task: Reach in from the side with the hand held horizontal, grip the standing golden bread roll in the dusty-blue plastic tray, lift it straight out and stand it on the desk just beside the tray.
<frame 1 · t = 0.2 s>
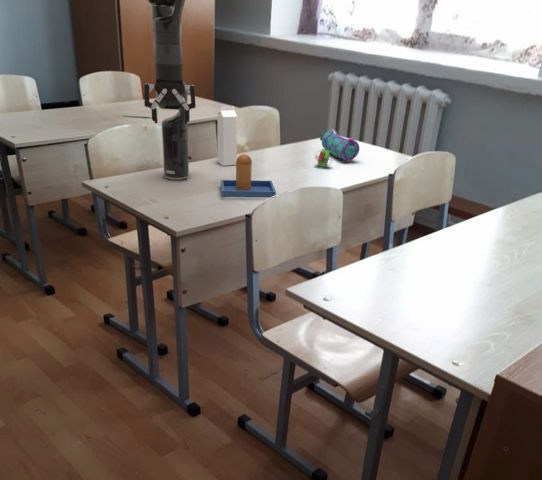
hand: (171, 123, 171), 29 cm above the table, tool pointing down, fingers open, 8 cm apart
bread: (243, 190, 212), point 1 cm above the table, touching tray
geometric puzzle: (322, 166, 247), on the table
tray: (247, 193, 213), on the table
pencil case: (338, 156, 262), on the table
milk: (226, 163, 243), on the table
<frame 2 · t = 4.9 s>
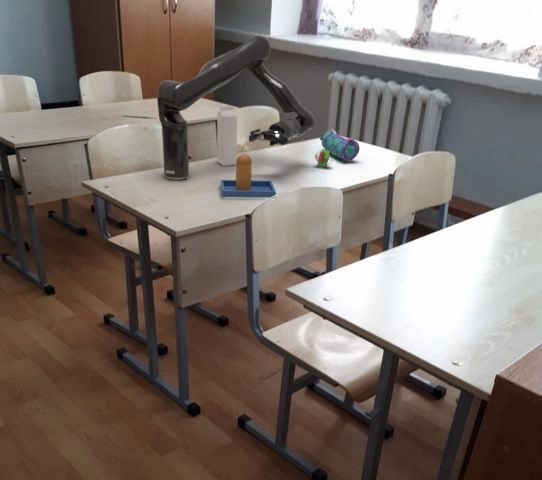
hand: (260, 140, 212), 16 cm above the table, tool horizontal, fingers open, 8 cm apart
nothing on the table moved.
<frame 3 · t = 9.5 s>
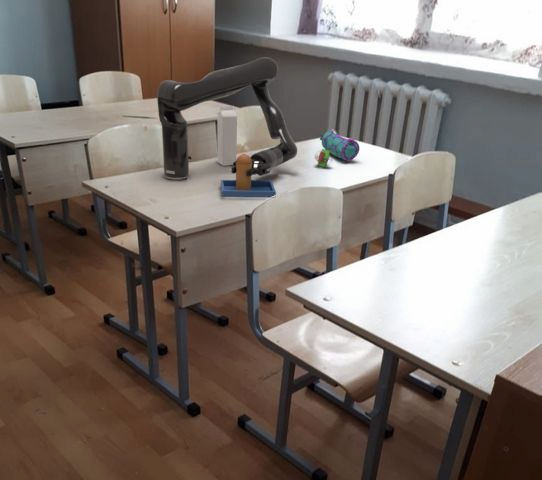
hand: (240, 172, 207), 8 cm above the table, tool horizontal, fingers closed on bread, 5 cm apart
bread: (243, 190, 212), point 1 cm above the table, touching gripper, tray
everything else where it was.
when the fingers open (7 cm above the table, at t = 17.1 s): bread stays where it is, on the table.
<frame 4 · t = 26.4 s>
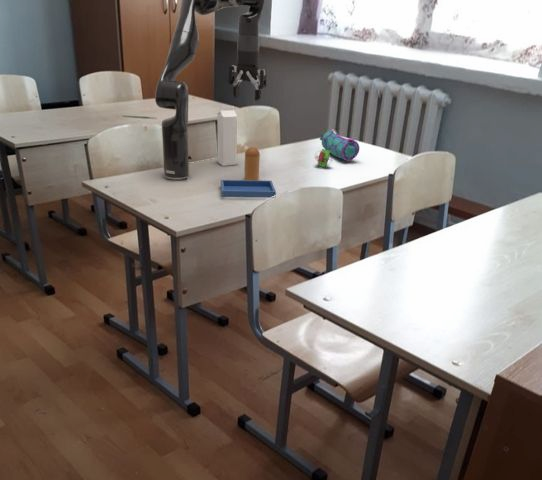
hand: (246, 99, 214), 28 cm above the table, tool pointing down, fingers open, 8 cm apart
bread: (251, 181, 224), on the table
everything else where it was.
at the end: bread inside the target area (0.1 cm from its centre), on the table; bread tilted 0°; the gripper is holding nothing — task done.
